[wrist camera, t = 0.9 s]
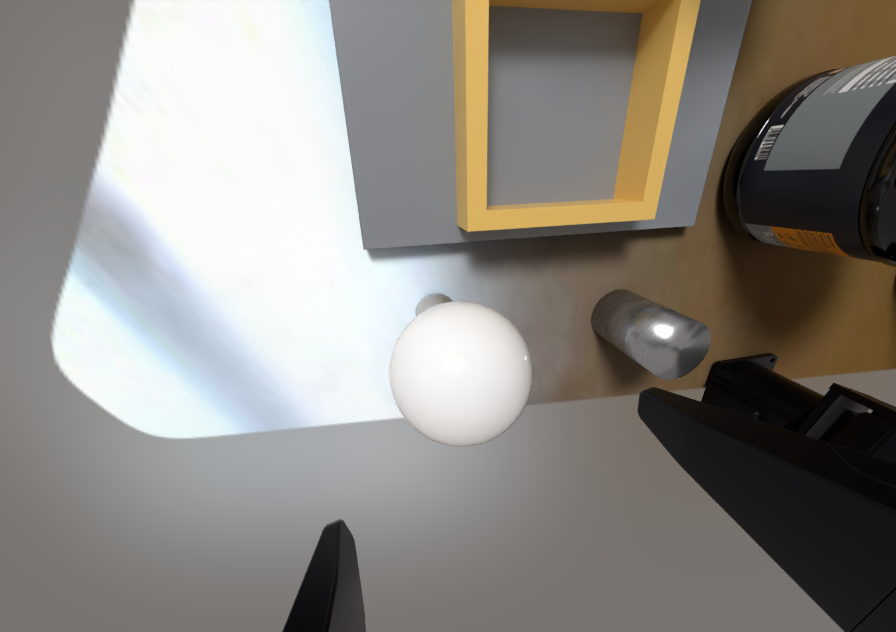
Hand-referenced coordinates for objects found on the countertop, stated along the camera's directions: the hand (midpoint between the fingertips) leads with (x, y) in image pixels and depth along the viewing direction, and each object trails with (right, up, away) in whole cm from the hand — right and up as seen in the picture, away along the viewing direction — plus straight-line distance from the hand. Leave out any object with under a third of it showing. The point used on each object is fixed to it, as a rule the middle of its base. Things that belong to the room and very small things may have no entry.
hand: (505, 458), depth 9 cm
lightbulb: (-3, +4, +13) cm, 14 cm away
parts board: (+4, +15, +10) cm, 18 cm away
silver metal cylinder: (+11, +4, +16) cm, 20 cm away
